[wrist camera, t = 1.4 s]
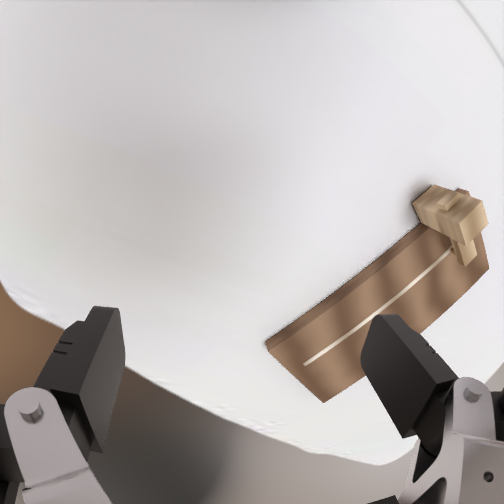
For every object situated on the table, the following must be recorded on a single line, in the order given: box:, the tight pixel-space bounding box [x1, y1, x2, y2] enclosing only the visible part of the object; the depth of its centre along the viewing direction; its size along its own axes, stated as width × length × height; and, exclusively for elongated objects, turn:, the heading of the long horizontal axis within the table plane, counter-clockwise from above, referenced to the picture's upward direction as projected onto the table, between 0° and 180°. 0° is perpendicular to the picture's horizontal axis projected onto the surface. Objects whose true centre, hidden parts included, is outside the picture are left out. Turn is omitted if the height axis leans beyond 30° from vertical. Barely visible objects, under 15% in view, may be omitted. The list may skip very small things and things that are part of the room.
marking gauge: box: [412, 185, 488, 267], centre depth 30 cm, size 4×9×8 cm, turn 37°
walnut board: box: [265, 188, 489, 403], centre depth 37 cm, size 32×14×2 cm, turn 127°
